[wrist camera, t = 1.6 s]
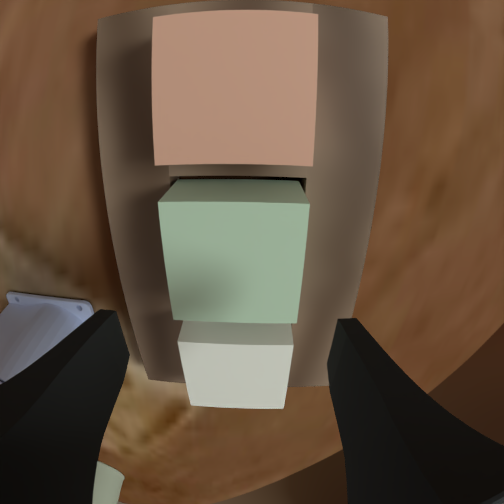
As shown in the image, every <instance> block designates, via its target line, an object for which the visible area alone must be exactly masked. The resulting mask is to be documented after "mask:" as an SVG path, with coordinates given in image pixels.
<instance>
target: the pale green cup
mask: <svg viewBox="0 0 504 504" xmlns="http://www.w3.org/2000/svg"><path fill="white" fill-rule="evenodd" d="M123 480H124V476H123V474H122V473H120V472H119V471H118V470H116V469H114V468H112V467H110V466H108V465H106V464H104V463H102V462H99V461H98V462H97V468H96V474H95V481H94V490H93V502H92V504H117V502H118V498H119V494H120V490H121V486H122V482H123Z"/></svg>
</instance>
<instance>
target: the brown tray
mask: <svg viewBox="0 0 504 504" xmlns="http://www.w3.org/2000/svg"><path fill="white" fill-rule="evenodd" d="M217 10H276V11H292V12H304V13H313V14H318V72H317V101H316V122H315V140H314V156H313V167H312V166H293V165H265V164H184V165H157V166H155V160H154V143H153V121H152V29H153V17H157V16H164V15H171V14H180V13H189V12H201V11H217ZM387 77H388V17H386V16H381V15H377V14H373V13H368V12H363V11H358V10H353V9H348V8H342V7H335V6H329V5H321V4H313V3H303V2H292V1H276V0H218V1H202V2H191V3H181V4H173V5H166V6H159V7H153V8H147V9H141V10H136V11H131V12H126V13H122V14H117V15H113V16H109V17H105V18H101V19H98V27H97V51H96V93H97V118H98V134H99V146H100V157H101V167H102V176H103V184H104V191H105V199H106V206H107V212H108V218H109V224H110V230H111V236H112V241H113V246H114V252H115V257H116V261H117V266H118V271H119V275H120V280H121V284H122V288H123V292H124V297H125V301H126V305H127V308H128V312H129V316H130V320H131V323H132V327H133V331H134V334H135V338H136V341H137V344H138V348H139V351H140V354H141V357H142V361H143V364H144V367H145V370H146V373H147V376H148V379H150V380H158V381H167V382H177V383H186V381H185V376H184V372H183V367H182V362H181V357H180V352H179V347H178V342H177V341H178V338H179V334H180V331H181V327H182V324H183V320H173V314H172V308H171V302H170V296H169V289H168V282H167V276H166V268H165V261H164V253H163V245H162V237H161V228H160V219H159V209H158V201H159V200H160V199H161V198H162V197H163V196H164V194H165V193H166V192H167V191H168V190H169V189H170V188H171V187H172V186H173V184H174V183H175V182H176V181H177V180H179V176H273V177H299V178H300V185H301V187H302V189H303V191H304V193H305V195H306V197H307V199H308V201H309V203H310V208H309V219H308V230H307V240H306V250H305V259H304V268H303V277H302V285H301V294H300V302H299V309H298V317H297V323H291V328H292V336H293V345H294V346H293V353H292V359H291V366H290V372H289V379H288V385H287V387H306V386H328V385H329V380H328V370H327V360H328V356H329V352H330V349H331V345H332V341H333V337H334V332H335V328H336V324H337V320H338V319H342V318H352V314H353V310H354V306H355V302H356V298H357V294H358V289H359V285H360V281H361V276H362V271H363V267H364V262H365V257H366V252H367V247H368V242H369V237H370V231H371V225H372V220H373V214H374V208H375V201H376V195H377V188H378V180H379V173H380V165H381V156H382V147H383V137H384V126H385V113H386V98H387Z"/></svg>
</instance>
